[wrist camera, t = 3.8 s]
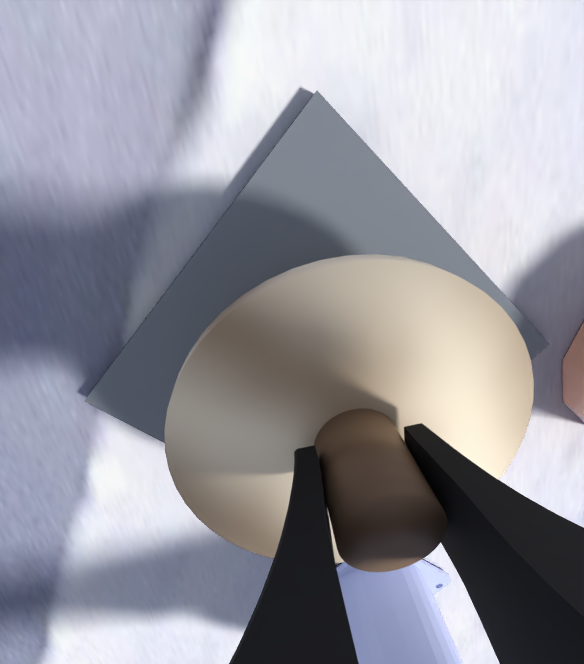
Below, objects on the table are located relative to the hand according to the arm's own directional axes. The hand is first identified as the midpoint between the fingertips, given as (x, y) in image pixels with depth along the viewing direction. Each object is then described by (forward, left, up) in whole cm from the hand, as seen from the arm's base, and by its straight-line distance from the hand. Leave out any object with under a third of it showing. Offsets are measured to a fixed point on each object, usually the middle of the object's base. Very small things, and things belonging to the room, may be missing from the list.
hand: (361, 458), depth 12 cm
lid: (0, 0, -2) cm, 2 cm away
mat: (0, 0, -6) cm, 6 cm away
